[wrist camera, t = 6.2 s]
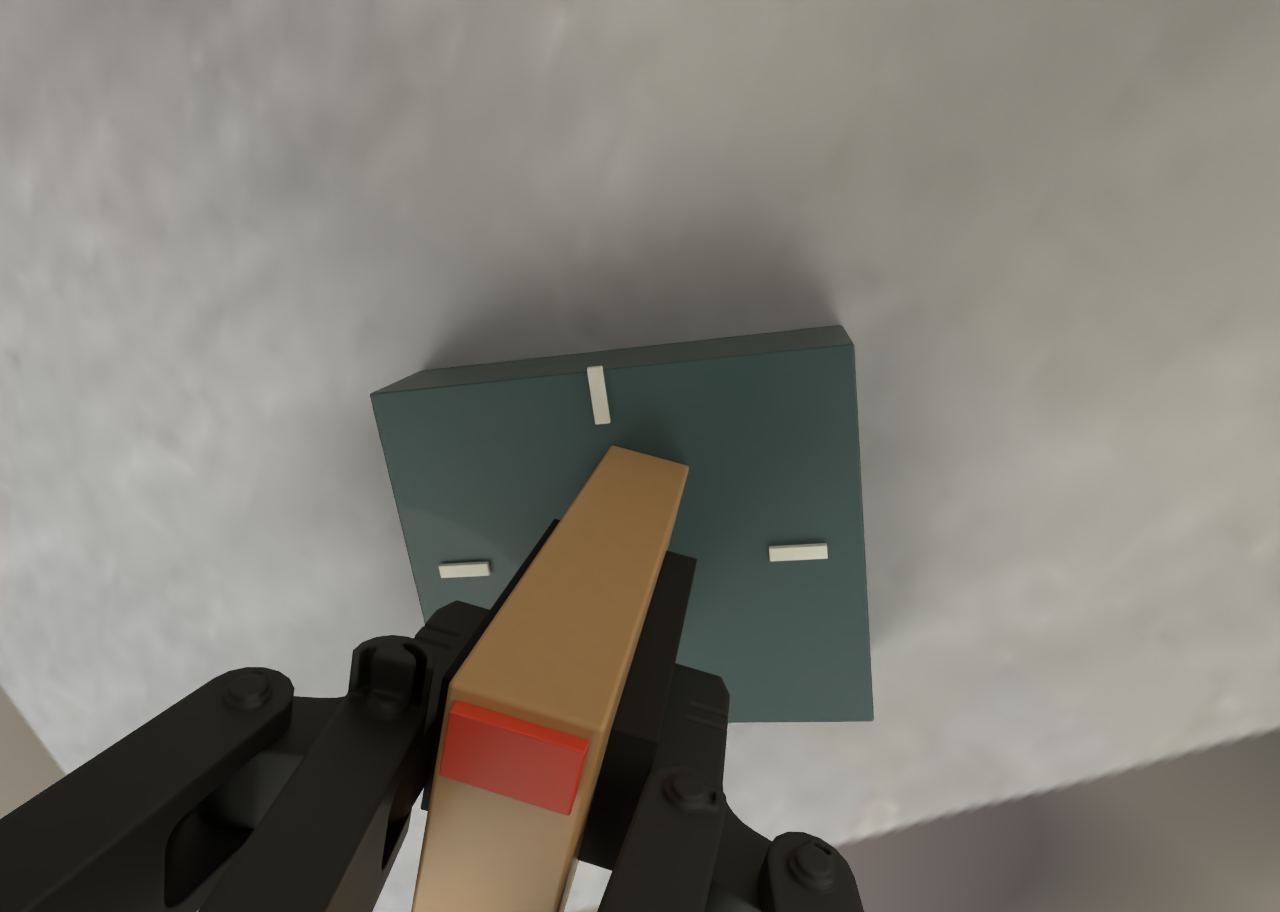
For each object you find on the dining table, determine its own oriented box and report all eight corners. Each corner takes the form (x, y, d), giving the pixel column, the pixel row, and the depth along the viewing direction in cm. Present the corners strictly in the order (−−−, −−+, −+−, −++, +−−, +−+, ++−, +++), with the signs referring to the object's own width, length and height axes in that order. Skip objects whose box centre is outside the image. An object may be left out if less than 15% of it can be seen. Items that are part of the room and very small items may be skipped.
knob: (636, 667, 20) (515, 1074, 11) (565, 646, 21) (384, 1028, 11) (690, 465, 18) (601, 742, 9) (611, 443, 19) (439, 693, 9)
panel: (485, 670, 25) (447, 732, 22) (419, 367, 22) (364, 391, 19) (861, 661, 23) (875, 729, 20) (842, 320, 20) (854, 340, 17)
